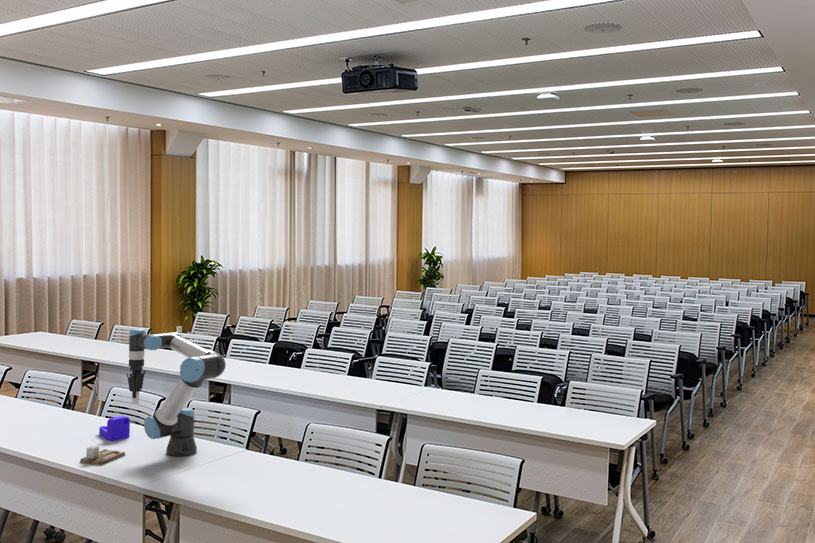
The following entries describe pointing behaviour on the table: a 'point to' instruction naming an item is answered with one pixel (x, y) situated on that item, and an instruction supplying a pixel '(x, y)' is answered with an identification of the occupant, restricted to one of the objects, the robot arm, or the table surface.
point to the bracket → (116, 428)
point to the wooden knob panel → (103, 457)
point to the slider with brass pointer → (94, 452)
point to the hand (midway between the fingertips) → (135, 403)
